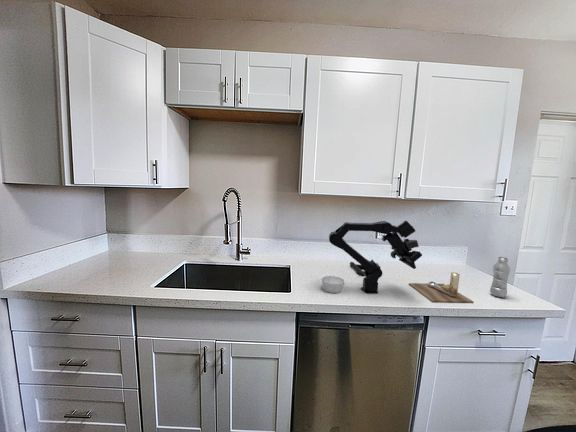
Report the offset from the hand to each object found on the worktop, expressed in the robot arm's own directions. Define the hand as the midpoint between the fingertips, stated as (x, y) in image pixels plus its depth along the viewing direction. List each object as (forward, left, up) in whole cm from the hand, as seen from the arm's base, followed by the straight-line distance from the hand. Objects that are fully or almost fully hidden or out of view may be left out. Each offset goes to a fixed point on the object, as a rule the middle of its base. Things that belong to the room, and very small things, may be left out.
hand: (414, 268), depth 121 cm
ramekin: (-40, +5, -14) cm, 42 cm away
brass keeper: (+19, +1, -13) cm, 23 cm away
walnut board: (+15, +2, -14) cm, 20 cm away
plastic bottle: (+44, 0, -14) cm, 46 cm away
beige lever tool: (+17, +2, -12) cm, 21 cm away
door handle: (-12, +34, -14) cm, 39 cm away
